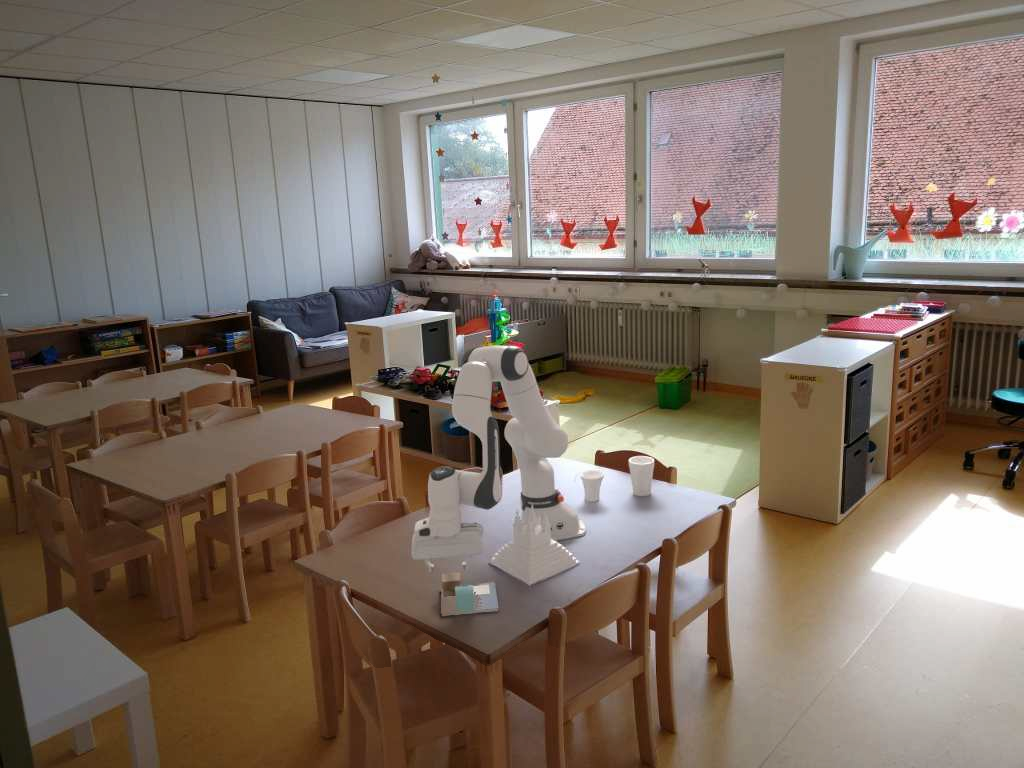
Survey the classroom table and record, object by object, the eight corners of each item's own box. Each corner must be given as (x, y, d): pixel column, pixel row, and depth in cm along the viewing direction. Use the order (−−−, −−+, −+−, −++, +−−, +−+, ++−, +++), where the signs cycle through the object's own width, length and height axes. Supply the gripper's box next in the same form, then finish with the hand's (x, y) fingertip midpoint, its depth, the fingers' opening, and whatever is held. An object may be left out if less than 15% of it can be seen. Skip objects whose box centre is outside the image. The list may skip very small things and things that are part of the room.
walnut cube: (460, 587, 225) (459, 572, 224) (461, 596, 220) (460, 580, 219) (443, 589, 224) (442, 573, 223) (443, 598, 219) (442, 582, 218)
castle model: (579, 564, 238) (577, 508, 233) (529, 586, 226) (526, 528, 222) (537, 544, 253) (534, 491, 249) (488, 564, 241) (485, 509, 237)
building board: (494, 585, 227) (494, 581, 227) (498, 611, 213) (498, 607, 212) (440, 590, 226) (440, 586, 226) (440, 617, 211) (440, 613, 211)
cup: (590, 505, 281) (589, 480, 279) (576, 498, 289) (575, 472, 287) (610, 500, 285) (609, 474, 283) (595, 492, 293) (594, 467, 291)
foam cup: (656, 497, 286) (656, 463, 283) (631, 498, 286) (630, 465, 283) (652, 487, 295) (651, 455, 292) (627, 488, 295) (627, 456, 292)
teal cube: (474, 601, 217) (473, 585, 216) (475, 610, 212) (473, 593, 211) (456, 603, 216) (455, 586, 215) (456, 612, 211) (455, 595, 210)
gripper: (482, 517, 221) (484, 562, 224) (410, 522, 219) (413, 567, 222) (483, 526, 215) (485, 572, 218) (409, 531, 213) (412, 577, 216)
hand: (448, 570), depth 220 cm, fingers open, 8 cm apart
